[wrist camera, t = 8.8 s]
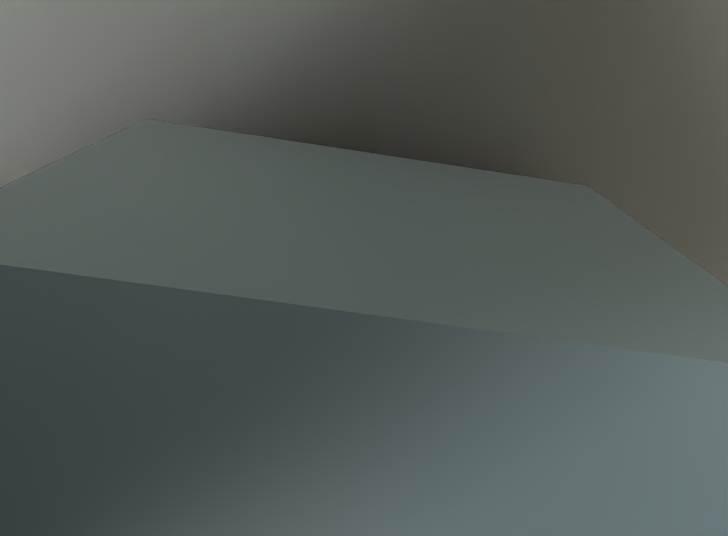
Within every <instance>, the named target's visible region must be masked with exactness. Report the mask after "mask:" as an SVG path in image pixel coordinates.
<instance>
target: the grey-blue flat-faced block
mask: <svg viewBox="0 0 728 536" xmlns="http://www.w3.org/2000/svg"><path fill="white" fill-rule="evenodd" d="M0 536H728V286H727V285H725V284H724V283H723V282H721V281H720V280H718V279H717V278H716V277H714V276H713V275H711V274H710V273H709V272H707V271H706V270H705V269H703V268H702V267H700V266H699V265H698V264H696V263H695V262H693V261H692V260H691V259H689V258H688V257H686V256H685V255H684V254H682V253H681V252H679V251H678V250H677V249H675V248H674V247H672V246H671V245H670V244H668V243H667V242H665V241H664V240H663V239H661V238H660V237H658V236H657V235H656V234H654V233H653V232H651V231H650V230H649V229H647V228H646V227H644V226H643V225H642V224H640V223H639V222H638V221H636V220H635V219H633V218H632V217H631V216H629V215H628V214H626V213H625V212H624V211H622V210H621V209H619V208H618V207H617V206H615V205H614V204H612V203H611V202H610V201H608V200H607V199H605V198H604V197H603V196H601V195H600V194H598V193H597V192H596V191H594V190H593V189H591V188H590V187H589V186H587V185H580V184H573V183H567V182H560V181H554V180H547V179H540V178H534V177H527V176H520V175H514V174H507V173H501V172H494V171H487V170H481V169H474V168H468V167H461V166H454V165H448V164H441V163H434V162H428V161H421V160H415V159H408V158H401V157H395V156H388V155H382V154H375V153H368V152H362V151H355V150H348V149H342V148H335V147H329V146H322V145H315V144H309V143H302V142H296V141H289V140H282V139H276V138H269V137H262V136H256V135H249V134H243V133H236V132H229V131H223V130H216V129H210V128H203V127H196V126H190V125H183V124H176V123H170V122H163V121H157V120H150V119H145V120H143V121H141V122H139V123H137V124H135V125H133V126H130V127H128V128H126V129H124V130H122V131H120V132H118V133H115V134H113V135H111V136H109V137H107V138H105V139H103V140H100V141H98V142H96V143H94V144H92V145H90V146H88V147H85V148H83V149H81V150H79V151H77V152H75V153H73V154H71V155H68V156H66V157H64V158H62V159H60V160H58V161H56V162H53V163H51V164H49V165H47V166H45V167H43V168H41V169H38V170H36V171H34V172H32V173H30V174H28V175H26V176H23V177H21V178H19V179H17V180H15V181H13V182H11V183H9V184H6V185H4V186H2V187H0Z"/></svg>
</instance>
